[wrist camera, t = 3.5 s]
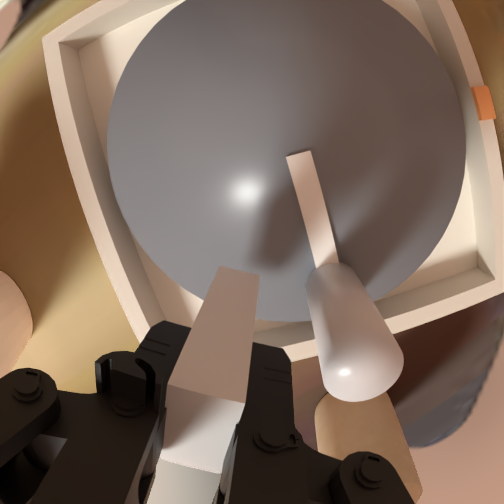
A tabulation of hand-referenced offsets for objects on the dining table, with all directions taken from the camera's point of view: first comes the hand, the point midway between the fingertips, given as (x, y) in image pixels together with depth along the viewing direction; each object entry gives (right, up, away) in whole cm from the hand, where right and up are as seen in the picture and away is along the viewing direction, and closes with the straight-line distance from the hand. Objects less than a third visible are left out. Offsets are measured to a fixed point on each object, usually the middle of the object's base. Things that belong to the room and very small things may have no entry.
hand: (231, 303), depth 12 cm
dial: (+2, +7, +2) cm, 8 cm away
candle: (+8, -9, +8) cm, 15 cm away
